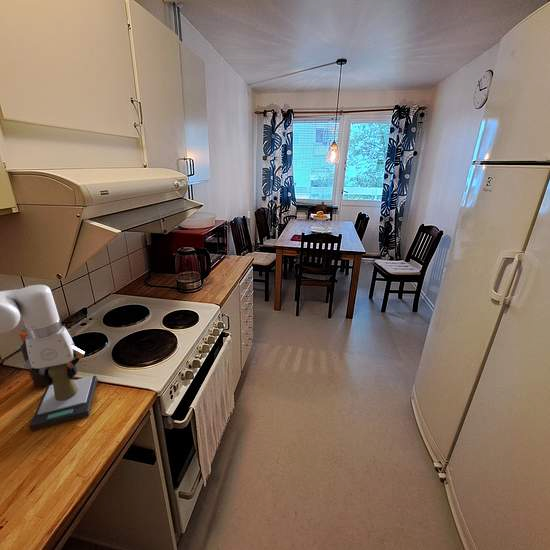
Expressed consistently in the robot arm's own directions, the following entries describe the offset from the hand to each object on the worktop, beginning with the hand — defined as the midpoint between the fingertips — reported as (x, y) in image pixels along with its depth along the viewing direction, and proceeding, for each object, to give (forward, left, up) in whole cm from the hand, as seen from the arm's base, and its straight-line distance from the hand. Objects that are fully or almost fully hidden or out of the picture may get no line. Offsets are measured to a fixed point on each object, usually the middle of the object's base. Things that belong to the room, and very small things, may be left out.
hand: (62, 378), depth 87 cm
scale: (0, -2, -8) cm, 8 cm away
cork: (0, 0, -6) cm, 6 cm away
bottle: (-9, +12, -9) cm, 18 cm away
